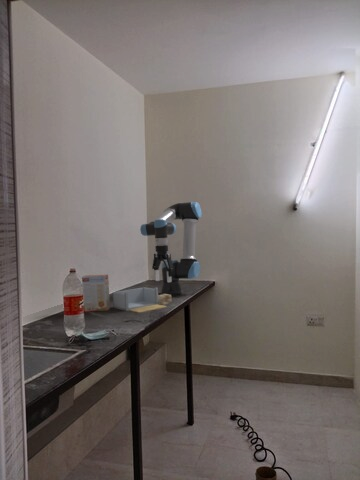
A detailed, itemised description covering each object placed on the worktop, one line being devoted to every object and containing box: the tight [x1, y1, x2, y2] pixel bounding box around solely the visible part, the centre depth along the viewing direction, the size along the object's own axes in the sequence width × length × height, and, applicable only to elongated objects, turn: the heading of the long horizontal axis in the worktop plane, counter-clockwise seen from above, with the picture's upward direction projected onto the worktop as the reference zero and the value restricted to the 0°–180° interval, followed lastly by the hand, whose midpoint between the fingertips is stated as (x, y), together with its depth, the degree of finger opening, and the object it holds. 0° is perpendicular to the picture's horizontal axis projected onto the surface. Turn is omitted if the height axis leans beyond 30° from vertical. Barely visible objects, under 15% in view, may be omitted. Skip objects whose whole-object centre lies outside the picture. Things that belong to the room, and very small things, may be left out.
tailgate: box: [129, 304, 168, 314], centre depth 220 cm, size 19×1×10 cm
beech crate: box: [158, 293, 173, 306], centre depth 235 cm, size 6×7×6 cm
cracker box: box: [81, 274, 111, 313], centre depth 225 cm, size 14×6×21 cm, turn 79°
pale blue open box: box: [112, 287, 160, 312], centre depth 230 cm, size 22×15×11 cm
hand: (163, 281), depth 234 cm, fingers open, 11 cm apart
